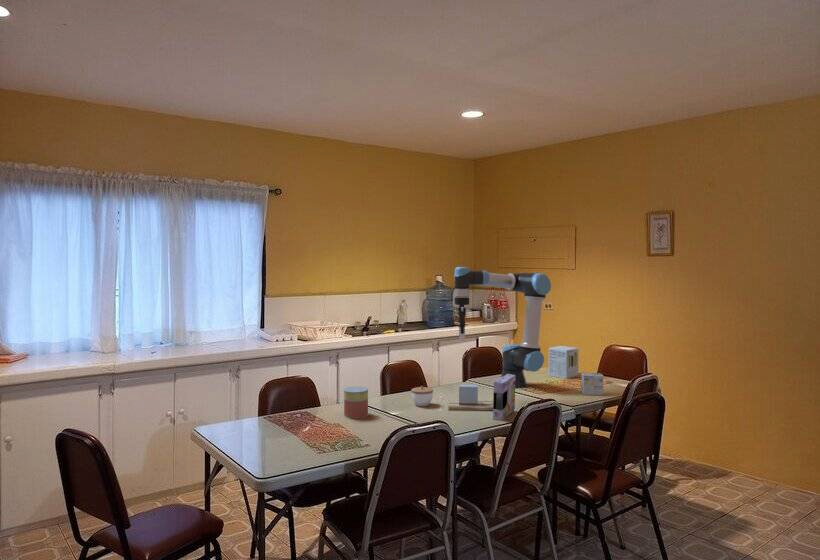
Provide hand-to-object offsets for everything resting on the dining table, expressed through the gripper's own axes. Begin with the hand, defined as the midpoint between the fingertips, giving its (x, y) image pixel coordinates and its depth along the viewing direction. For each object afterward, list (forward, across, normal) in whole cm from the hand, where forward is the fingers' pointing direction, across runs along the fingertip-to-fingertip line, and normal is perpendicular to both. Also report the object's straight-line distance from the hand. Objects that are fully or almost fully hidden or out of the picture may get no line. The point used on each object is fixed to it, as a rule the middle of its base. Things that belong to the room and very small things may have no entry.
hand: (461, 338), depth 298 cm
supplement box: (+32, -62, +64) cm, 95 cm away
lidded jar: (+32, +13, -20) cm, 40 cm away
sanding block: (+30, +16, +3) cm, 34 cm away
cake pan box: (+32, +30, +19) cm, 48 cm away
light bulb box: (+32, -15, +70) cm, 78 cm away
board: (+32, +16, +6) cm, 36 cm away
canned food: (+32, +33, -50) cm, 68 cm away
